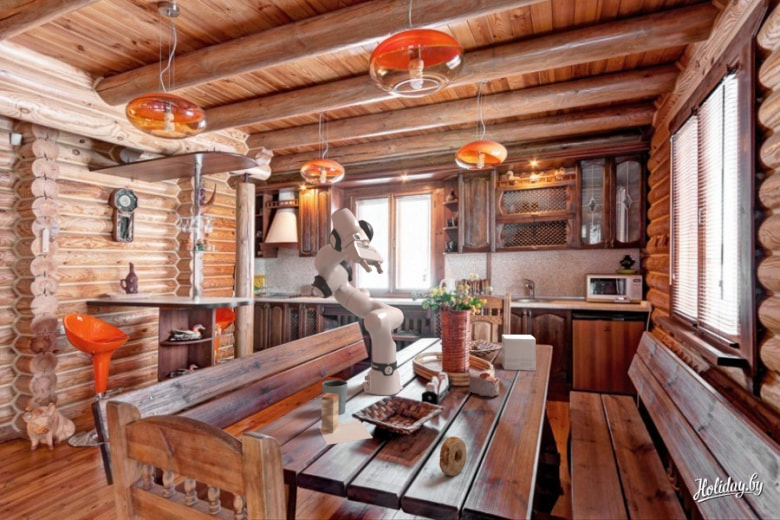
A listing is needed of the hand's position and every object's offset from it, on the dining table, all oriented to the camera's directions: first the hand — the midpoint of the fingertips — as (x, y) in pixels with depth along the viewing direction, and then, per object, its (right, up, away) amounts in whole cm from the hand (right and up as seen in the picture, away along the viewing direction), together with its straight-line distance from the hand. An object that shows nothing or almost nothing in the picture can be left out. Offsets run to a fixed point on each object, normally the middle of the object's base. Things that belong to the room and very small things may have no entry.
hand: (375, 272), depth 153 cm
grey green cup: (-17, -57, +12) cm, 61 cm away
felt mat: (-11, -57, -7) cm, 58 cm away
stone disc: (+24, -57, -34) cm, 71 cm away
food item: (+49, -58, +36) cm, 84 cm away
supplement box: (+79, -58, +83) cm, 129 cm away
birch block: (-16, -57, -6) cm, 59 cm away
